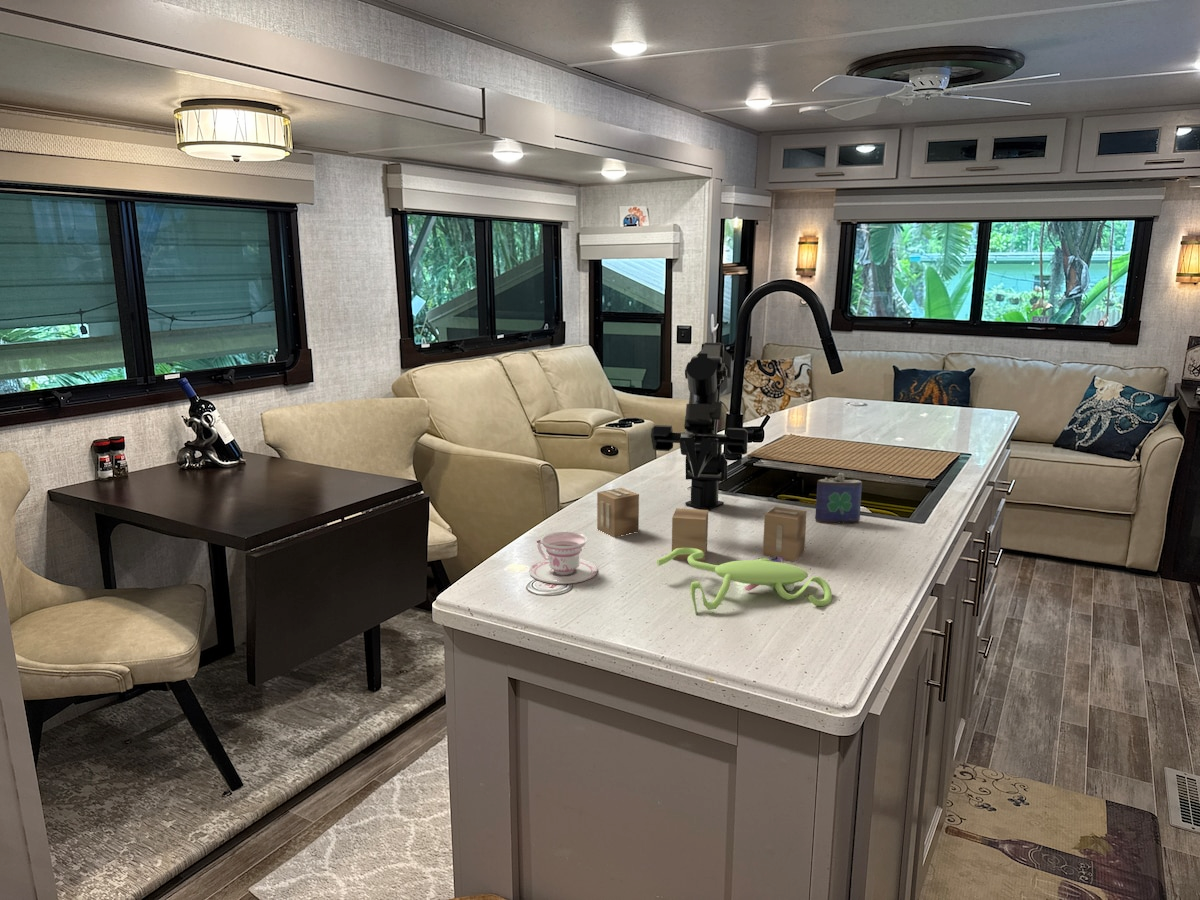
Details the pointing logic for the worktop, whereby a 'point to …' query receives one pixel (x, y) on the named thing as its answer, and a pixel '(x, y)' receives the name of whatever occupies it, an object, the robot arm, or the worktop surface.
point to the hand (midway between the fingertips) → (695, 476)
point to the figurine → (751, 576)
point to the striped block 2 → (784, 533)
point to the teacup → (562, 559)
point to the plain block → (690, 531)
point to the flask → (838, 500)
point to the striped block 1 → (617, 512)
